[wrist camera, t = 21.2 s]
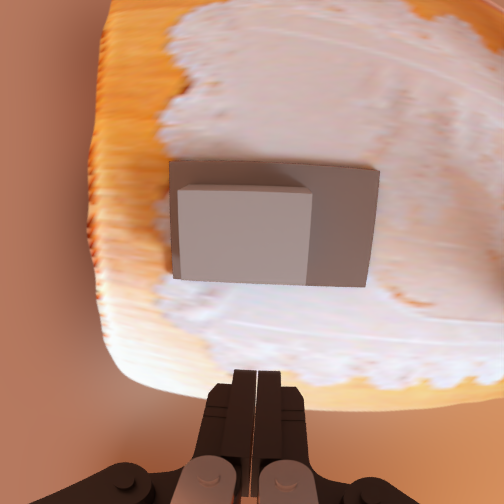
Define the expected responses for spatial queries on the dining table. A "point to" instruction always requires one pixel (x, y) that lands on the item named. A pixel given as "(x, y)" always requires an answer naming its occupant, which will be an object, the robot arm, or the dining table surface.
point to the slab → (244, 233)
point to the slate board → (322, 214)
